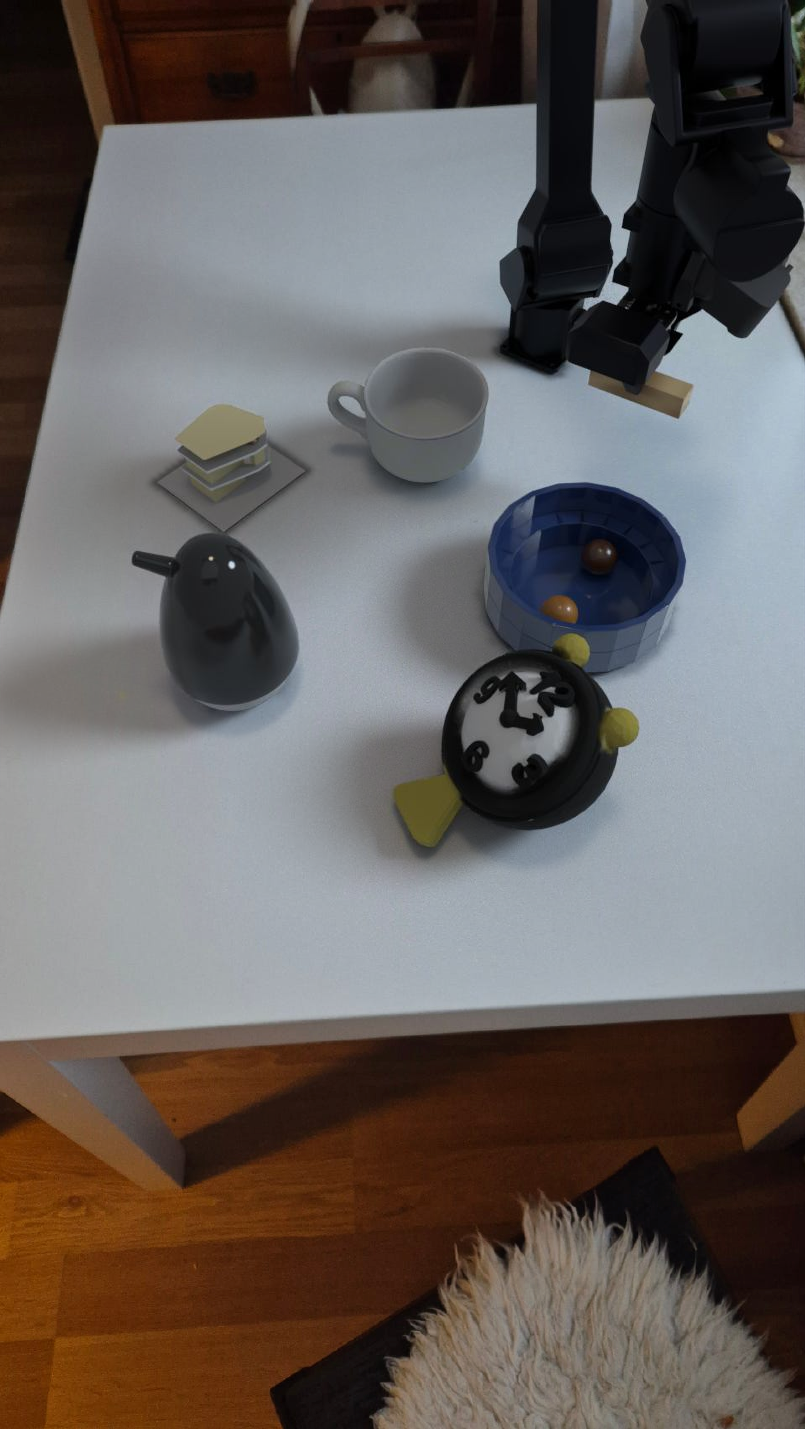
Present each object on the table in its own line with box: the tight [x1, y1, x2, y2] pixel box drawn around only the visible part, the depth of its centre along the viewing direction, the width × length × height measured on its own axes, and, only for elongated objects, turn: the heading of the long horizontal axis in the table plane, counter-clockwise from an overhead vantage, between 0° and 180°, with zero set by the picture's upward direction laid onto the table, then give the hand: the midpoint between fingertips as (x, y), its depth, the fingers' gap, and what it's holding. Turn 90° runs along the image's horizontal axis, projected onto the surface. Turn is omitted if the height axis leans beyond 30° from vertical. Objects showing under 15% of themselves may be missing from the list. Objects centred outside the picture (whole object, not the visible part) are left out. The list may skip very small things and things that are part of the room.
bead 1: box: [540, 595, 578, 624], centre depth 80 cm, size 3×3×3 cm
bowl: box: [483, 481, 687, 673], centre depth 81 cm, size 15×15×6 cm
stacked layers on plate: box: [157, 403, 306, 533], centre depth 89 cm, size 10×9×6 cm
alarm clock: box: [392, 633, 640, 848], centre depth 70 cm, size 12×15×15 cm
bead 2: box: [581, 539, 618, 576], centre depth 83 cm, size 3×3×3 cm
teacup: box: [326, 346, 489, 483], centre depth 89 cm, size 14×11×8 cm
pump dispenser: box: [130, 532, 300, 712], centre depth 73 cm, size 10×10×15 cm
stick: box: [587, 370, 695, 420], centre depth 81 cm, size 8×2×2 cm, turn 58°
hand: (638, 384), depth 81 cm, fingers closed on stick, 2 cm apart
